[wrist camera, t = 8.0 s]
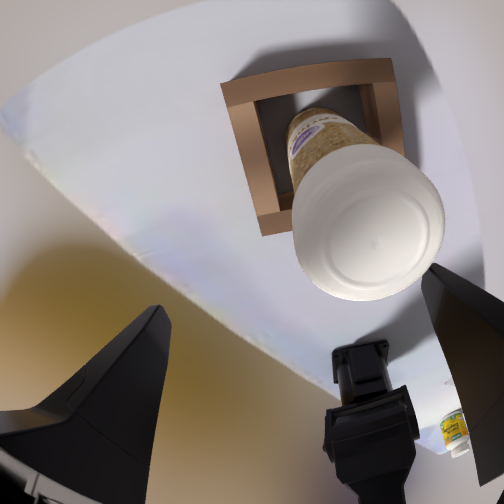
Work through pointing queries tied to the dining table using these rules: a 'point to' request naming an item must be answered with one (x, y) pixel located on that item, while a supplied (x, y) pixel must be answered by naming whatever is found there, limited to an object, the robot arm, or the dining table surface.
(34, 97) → the dining table surface
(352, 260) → the sprinkles bottle
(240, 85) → the walnut socket
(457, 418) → the supplement bottle
